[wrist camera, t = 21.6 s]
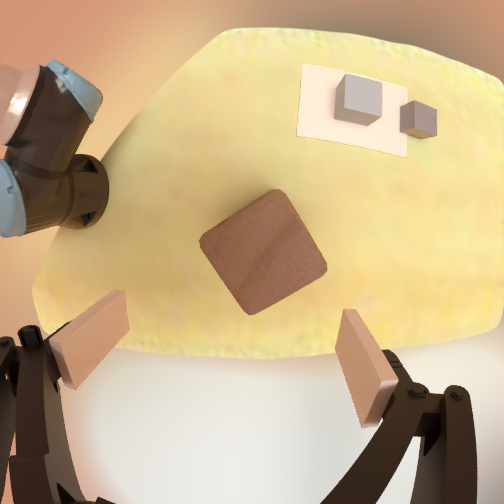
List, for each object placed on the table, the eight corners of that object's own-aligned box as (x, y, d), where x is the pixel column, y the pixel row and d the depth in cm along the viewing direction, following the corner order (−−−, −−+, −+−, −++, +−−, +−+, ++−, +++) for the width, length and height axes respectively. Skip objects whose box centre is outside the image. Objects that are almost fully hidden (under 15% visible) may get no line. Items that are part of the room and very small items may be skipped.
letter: (296, 136, 42) (296, 135, 42) (302, 64, 39) (302, 63, 39) (405, 157, 41) (406, 157, 41) (406, 88, 38) (407, 88, 38)
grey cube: (399, 131, 40) (414, 127, 35) (400, 106, 38) (414, 100, 34) (421, 139, 40) (436, 135, 35) (421, 114, 39) (436, 109, 34)
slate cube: (334, 119, 41) (344, 107, 34) (335, 88, 39) (345, 73, 32) (367, 126, 40) (381, 117, 33) (368, 95, 39) (382, 82, 32)
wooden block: (226, 219, 46) (192, 241, 27) (277, 187, 44) (279, 184, 25) (258, 268, 48) (247, 321, 28) (308, 238, 46) (332, 273, 26)
